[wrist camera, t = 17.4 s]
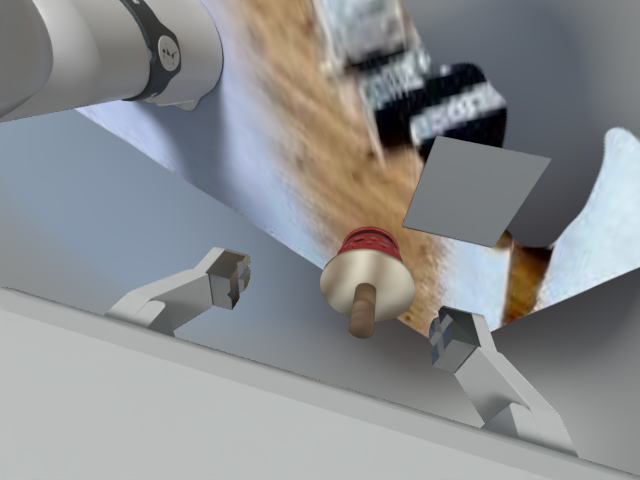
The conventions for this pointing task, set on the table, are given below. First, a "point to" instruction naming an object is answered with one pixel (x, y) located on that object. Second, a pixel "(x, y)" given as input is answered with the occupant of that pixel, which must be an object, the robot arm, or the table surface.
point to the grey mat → (472, 190)
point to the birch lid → (367, 288)
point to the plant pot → (371, 241)
